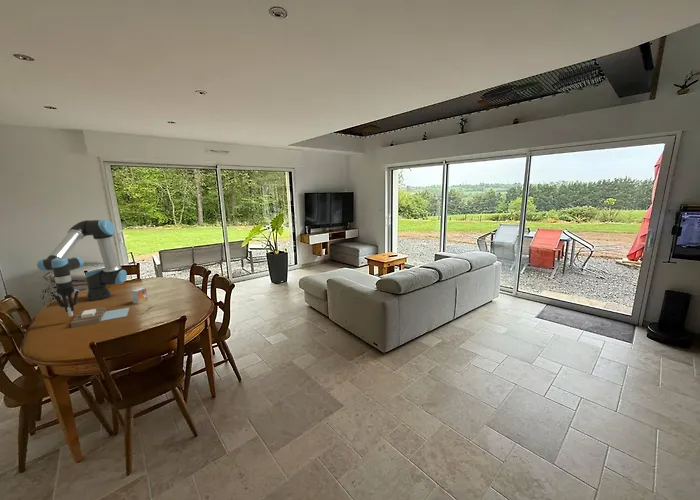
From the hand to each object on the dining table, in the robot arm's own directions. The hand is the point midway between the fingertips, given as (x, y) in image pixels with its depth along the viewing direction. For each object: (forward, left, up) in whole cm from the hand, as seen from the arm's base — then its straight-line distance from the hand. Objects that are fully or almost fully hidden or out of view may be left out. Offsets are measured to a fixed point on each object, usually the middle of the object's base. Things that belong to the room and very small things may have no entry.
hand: (71, 315), depth 188 cm
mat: (0, +23, -4) cm, 23 cm away
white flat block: (0, +9, -1) cm, 9 cm away
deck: (0, +9, -4) cm, 10 cm away
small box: (-19, +36, -5) cm, 41 cm away
